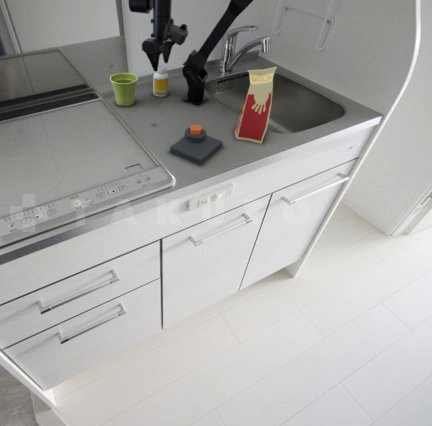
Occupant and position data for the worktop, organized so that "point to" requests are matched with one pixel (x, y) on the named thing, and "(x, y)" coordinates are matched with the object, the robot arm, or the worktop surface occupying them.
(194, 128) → the button
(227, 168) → the worktop surface
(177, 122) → the worktop surface
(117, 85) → the plant pot
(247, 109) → the red snack bag
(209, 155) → the scale
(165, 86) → the supplement bottle
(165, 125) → the worktop surface
